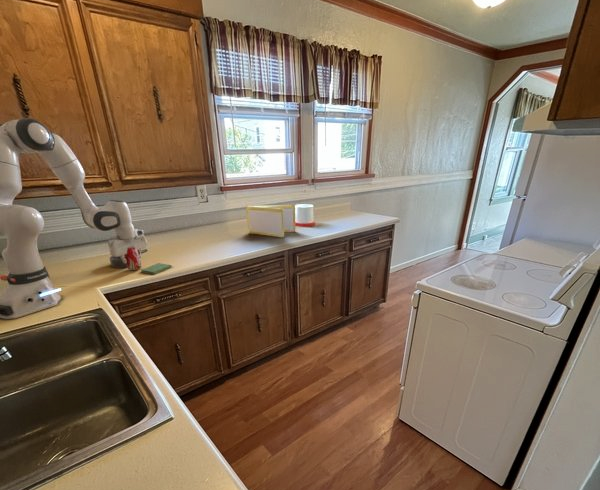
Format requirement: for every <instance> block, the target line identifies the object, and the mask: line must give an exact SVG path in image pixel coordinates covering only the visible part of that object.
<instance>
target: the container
mask: <svg viewBox="0 0 600 490" xmlns="http://www.w3.org/2000/svg"><path fill="white" fill-rule="evenodd" d="M294 206H295V227H296V226H297V227H311V226H314V225H315V221H314V218H315V217H314V216H315V215H314V214H315V213H314V212H315V211H314V209H315V208H314V207H315V206H314V204H311V203H309V204H308V203H302V204H301V203H300V204H296V205H294Z"/></svg>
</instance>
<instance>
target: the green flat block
mask: <svg viewBox="0 0 600 490" xmlns="http://www.w3.org/2000/svg"><path fill="white" fill-rule="evenodd" d="M171 268H172V264H168V263H161V262H158V263H155V264H152V265H150V266H148V267H144V268H142V269H140V271H141V273H145V274H150V275H151V274H152V275H157V274H159V273H161V272H163V271H166V270H168V269H171Z"/></svg>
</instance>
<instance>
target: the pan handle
mask: <svg viewBox="0 0 600 490" xmlns="http://www.w3.org/2000/svg"><path fill="white" fill-rule="evenodd" d="M148 250H149V249H147V248H143V249H141V255H142V254H144V253H147V252H148Z"/></svg>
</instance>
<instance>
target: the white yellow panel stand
mask: <svg viewBox="0 0 600 490" xmlns="http://www.w3.org/2000/svg"><path fill="white" fill-rule="evenodd" d="M245 210H246V222H247V232H248V233H249V234H253V235H261V236H269V237H277V238H284V237H285V233H293V232H295V231H296V225H295V205H294V204H282V205H281V204H279V205H247V206H246V208H245Z"/></svg>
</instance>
